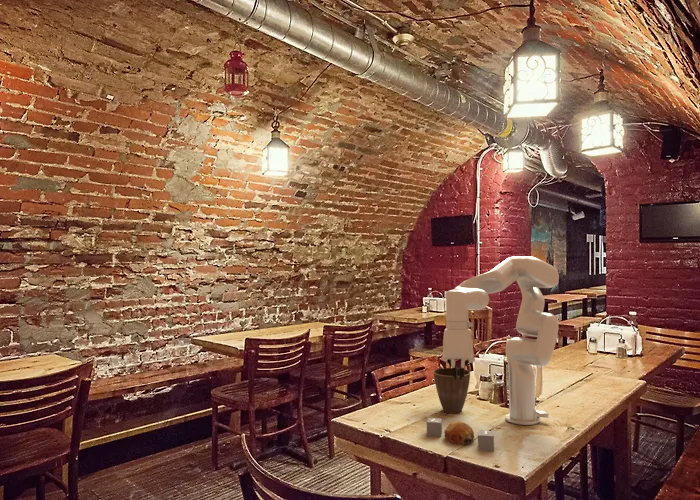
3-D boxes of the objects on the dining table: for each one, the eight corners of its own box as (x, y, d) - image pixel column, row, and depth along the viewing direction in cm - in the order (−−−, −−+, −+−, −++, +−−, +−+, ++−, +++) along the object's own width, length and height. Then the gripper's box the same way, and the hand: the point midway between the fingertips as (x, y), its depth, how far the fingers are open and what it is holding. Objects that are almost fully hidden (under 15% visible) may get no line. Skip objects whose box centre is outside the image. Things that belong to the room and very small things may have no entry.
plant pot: (471, 417, 208) (470, 376, 208) (433, 415, 211) (432, 375, 211) (470, 406, 223) (469, 368, 223) (434, 405, 226) (434, 367, 226)
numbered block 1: (494, 446, 177) (493, 430, 177) (494, 451, 172) (493, 435, 172) (478, 445, 178) (478, 429, 178) (478, 450, 173) (477, 434, 173)
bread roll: (471, 447, 186) (468, 423, 190) (478, 443, 177) (475, 418, 180) (443, 447, 186) (441, 424, 189) (449, 444, 177) (446, 419, 180)
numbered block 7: (442, 432, 191) (442, 418, 191) (441, 437, 186) (440, 422, 186) (428, 431, 192) (428, 417, 192) (426, 436, 187) (426, 421, 187)
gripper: (480, 324, 185) (481, 377, 185) (436, 323, 189) (437, 375, 189) (480, 327, 178) (481, 382, 178) (433, 326, 182) (434, 380, 182)
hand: (458, 378), depth 183 cm, fingers closed
